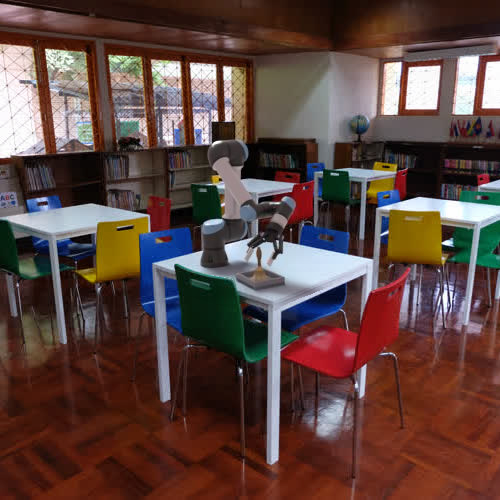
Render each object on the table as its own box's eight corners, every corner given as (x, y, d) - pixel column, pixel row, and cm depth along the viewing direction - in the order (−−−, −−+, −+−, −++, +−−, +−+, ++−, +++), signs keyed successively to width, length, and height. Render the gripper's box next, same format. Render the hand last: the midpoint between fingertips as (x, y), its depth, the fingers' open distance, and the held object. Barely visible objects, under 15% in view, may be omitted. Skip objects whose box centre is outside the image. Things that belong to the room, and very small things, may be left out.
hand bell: (258, 283, 230) (258, 249, 226) (247, 279, 236) (246, 246, 232) (272, 279, 235) (271, 246, 231) (260, 276, 241) (260, 244, 237)
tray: (236, 280, 239) (236, 273, 238) (264, 274, 247) (264, 268, 246) (255, 290, 224) (255, 282, 223) (284, 284, 232) (284, 277, 231)
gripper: (301, 233, 234) (282, 271, 226) (260, 227, 249) (240, 262, 242) (294, 224, 228) (274, 262, 221) (253, 218, 244) (233, 253, 237)
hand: (257, 262), depth 232 cm, fingers open, 13 cm apart
